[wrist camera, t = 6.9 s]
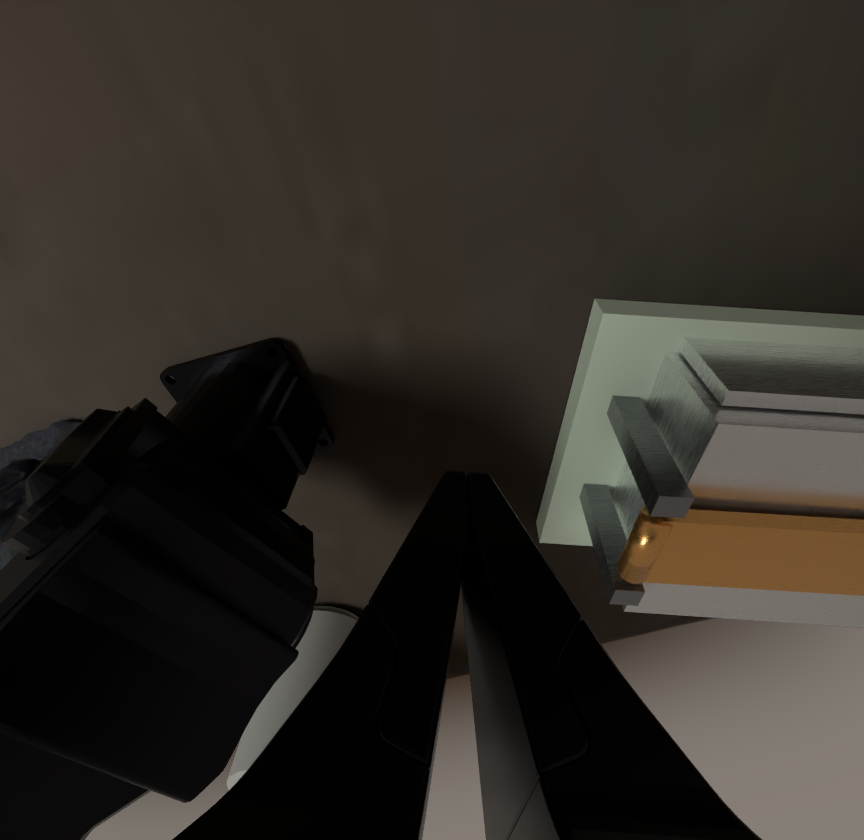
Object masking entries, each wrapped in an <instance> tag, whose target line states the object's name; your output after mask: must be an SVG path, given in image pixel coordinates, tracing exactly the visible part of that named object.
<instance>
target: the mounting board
mask: <svg viewBox="0 0 864 840" xmlns="http://www.w3.org/2000/svg"><path fill="white" fill-rule="evenodd" d="M684 337H688V338H704V339H720V340H735V341H751V342H767V343H782V344H798V345H814V346H830V347H845V348H861V349H864V316H861V315H845V314H829V313H814V312H798V311H782V310H766V309H750V308H734V307H719V306H703V305H687V304H671V303H655V302H639V301H623V300H608V299H594V303H593V307H592V311H591V315H590V318H589V322H588V326H587V330H586V334H585V337H584V341H583V345H582V349H581V353H580V357H579V360H578V364H577V368H576V372H575V376H574V380H573V383H572V387H571V391H570V395H569V399H568V402H567V406H566V410H565V414H564V418H563V422H562V425H561V429H560V433H559V437H558V441H557V444H556V448H555V452H554V456H553V460H552V464H551V467H550V471H549V475H548V479H547V483H546V487H545V490H544V494H543V498H542V502H541V506H540V509H539V513H538V517H537V521H536V525H537V531H538V537H539V543H552V544H567V545H582V546H593V544H592V541H591V537H590V534H589V530H588V526H587V523H586V519H585V516H584V512H583V509H582V505H581V501H580V498H579V497H580V494H581V491H582V488H583V484H584V483H585V484H601V485H608V488H609V491H610V494H611V495H612V493H613V490H614V487H615V485H616V482H617V479H618V477H619V474H620V472H621V469H622V466H623V464H624V461H625V456H624V453H623V451H622V449H621V446H620V444H619V442H618V439H617V437H616V435H615V432H614V430H613V428H612V425H611V423H610V420H609V418H608V416H607V411H608V408H609V405H610V402H611V399H612V395H614V396H630V397H640V399H641V401H642V402H643V404H644V406H646V403H647V401H648V398H649V395H650V393H651V390H652V388H653V385H654V382H655V380H656V377H657V374H658V372H659V369H660V367H661V364H662V361H663V359H664V356H665V353H666V352H678V353H681V352H680V351H679V349H680V347H681V344H682V342H683V339H684Z"/></svg>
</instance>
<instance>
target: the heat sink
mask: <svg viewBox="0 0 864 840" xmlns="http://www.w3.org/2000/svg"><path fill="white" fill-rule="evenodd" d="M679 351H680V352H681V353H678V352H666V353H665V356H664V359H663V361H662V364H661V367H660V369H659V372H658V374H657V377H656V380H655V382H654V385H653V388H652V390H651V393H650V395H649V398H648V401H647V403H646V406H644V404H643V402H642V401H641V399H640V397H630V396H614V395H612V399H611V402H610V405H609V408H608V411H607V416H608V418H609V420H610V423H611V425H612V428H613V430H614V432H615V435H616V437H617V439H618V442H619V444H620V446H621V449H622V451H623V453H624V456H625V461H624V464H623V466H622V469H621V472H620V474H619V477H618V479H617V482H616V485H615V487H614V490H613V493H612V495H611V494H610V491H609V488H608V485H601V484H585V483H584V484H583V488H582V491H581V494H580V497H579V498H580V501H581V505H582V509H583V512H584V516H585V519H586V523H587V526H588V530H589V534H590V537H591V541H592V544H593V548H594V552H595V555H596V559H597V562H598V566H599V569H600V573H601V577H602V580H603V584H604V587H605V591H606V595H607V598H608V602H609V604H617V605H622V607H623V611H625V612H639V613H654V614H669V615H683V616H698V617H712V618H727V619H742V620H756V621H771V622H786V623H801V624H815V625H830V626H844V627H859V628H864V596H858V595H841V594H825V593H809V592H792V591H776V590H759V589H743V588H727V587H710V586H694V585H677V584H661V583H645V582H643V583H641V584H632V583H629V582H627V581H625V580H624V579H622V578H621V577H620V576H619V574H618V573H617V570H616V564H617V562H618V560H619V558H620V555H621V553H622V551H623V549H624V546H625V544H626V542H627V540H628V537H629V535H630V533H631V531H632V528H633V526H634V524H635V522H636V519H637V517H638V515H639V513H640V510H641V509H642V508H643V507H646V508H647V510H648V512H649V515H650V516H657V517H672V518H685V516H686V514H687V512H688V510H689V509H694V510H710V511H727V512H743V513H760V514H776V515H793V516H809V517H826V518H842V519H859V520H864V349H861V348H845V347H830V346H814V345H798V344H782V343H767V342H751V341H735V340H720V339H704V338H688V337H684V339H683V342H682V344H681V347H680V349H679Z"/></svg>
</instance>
